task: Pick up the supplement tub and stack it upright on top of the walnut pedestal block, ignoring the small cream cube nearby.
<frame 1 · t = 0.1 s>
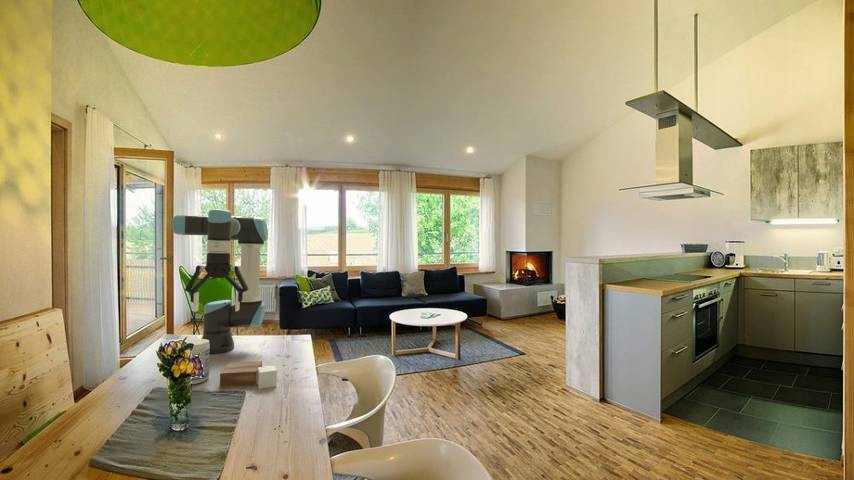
hand: (216, 310, 135), 28 cm above the table, fingers open, 13 cm apart
cream cube: (266, 384, 139), on the table
walnut block: (241, 380, 142), on the table
supplement tub: (194, 381, 140), on the table
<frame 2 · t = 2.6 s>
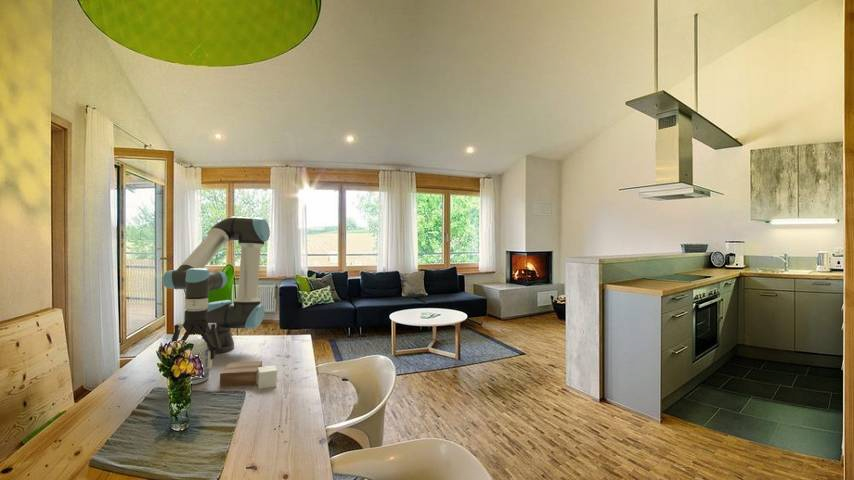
hand: (194, 368, 140), 5 cm above the table, fingers closed on supplement tub, 9 cm apart
supplement tub: (194, 381, 140), on the table, touching gripper
everything else where it was.
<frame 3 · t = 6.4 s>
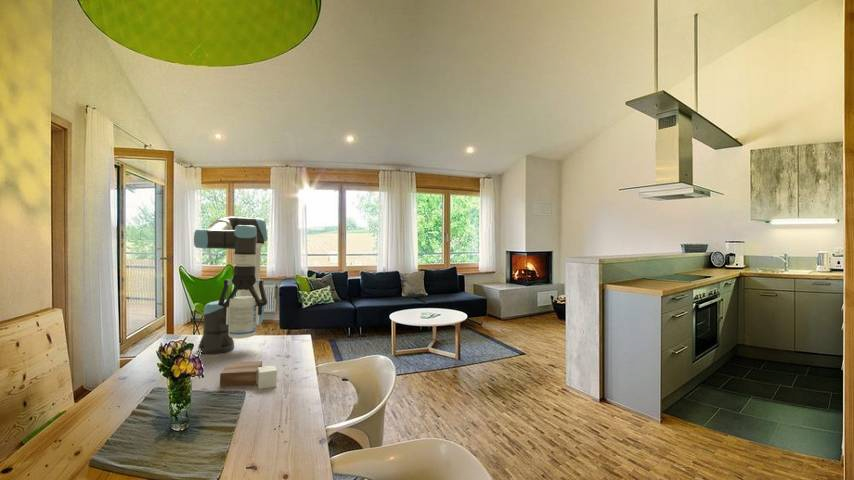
hand: (242, 323, 142), 22 cm above the table, fingers closed on supplement tub, 9 cm apart
supplement tub: (242, 336, 142), point 17 cm above the table, touching gripper
everything else where it was.
when the fingers open (10 cm above the table, at t = 10.2 s): supplement tub stays where it is, resting on walnut block.
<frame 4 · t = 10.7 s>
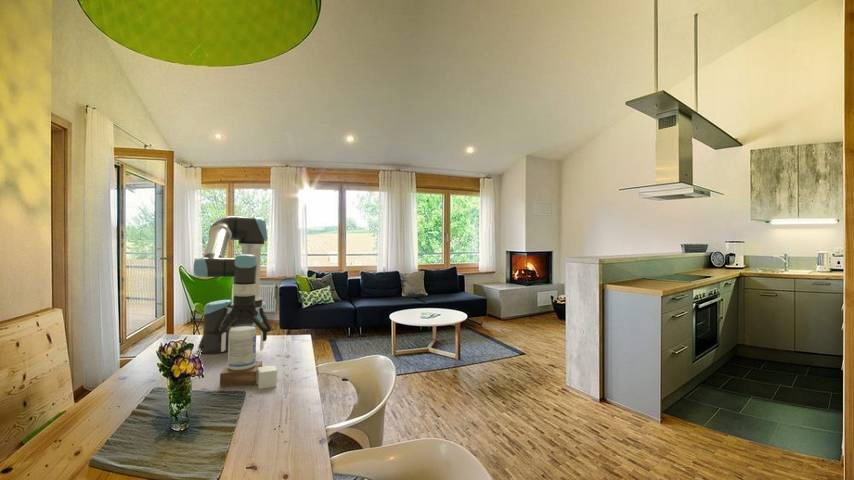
hand: (242, 350, 142), 12 cm above the table, fingers open, 13 cm apart
supplement tub: (241, 367, 142), point 5 cm above the table, touching walnut block
everything else where it was.
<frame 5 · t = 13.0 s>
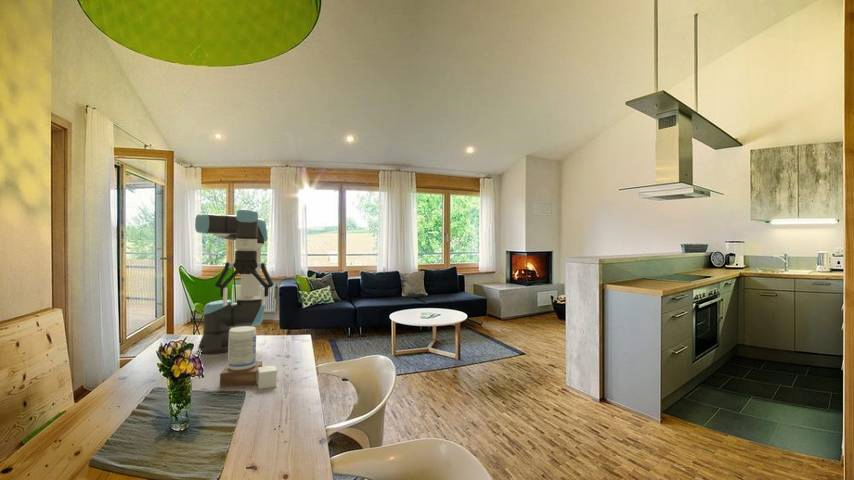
hand: (244, 305, 143), 29 cm above the table, fingers open, 13 cm apart
nothing on the table moved.
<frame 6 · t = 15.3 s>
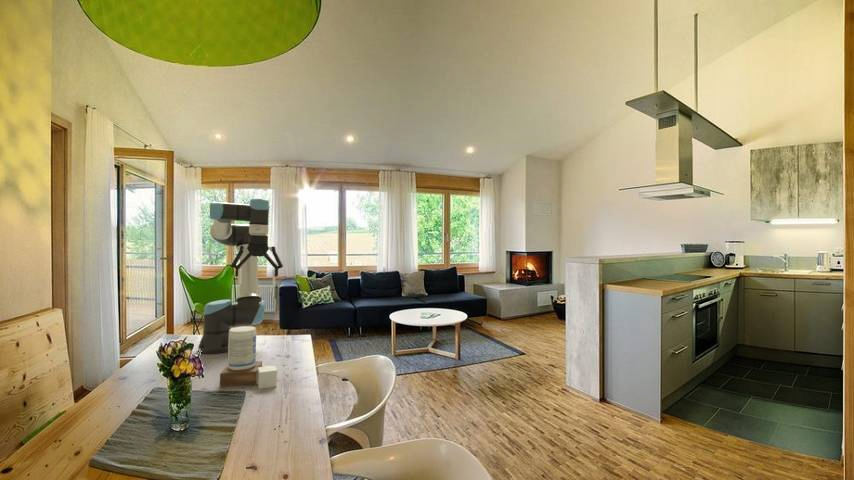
hand: (256, 284, 159), 35 cm above the table, fingers open, 13 cm apart
nothing on the table moved.
at the end: supplement tub inside the target area on the walnut block (0.2 cm from its centre), point 4.8 cm above the walnut block's base; supplement tub tilted 0°; the gripper is holding nothing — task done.
